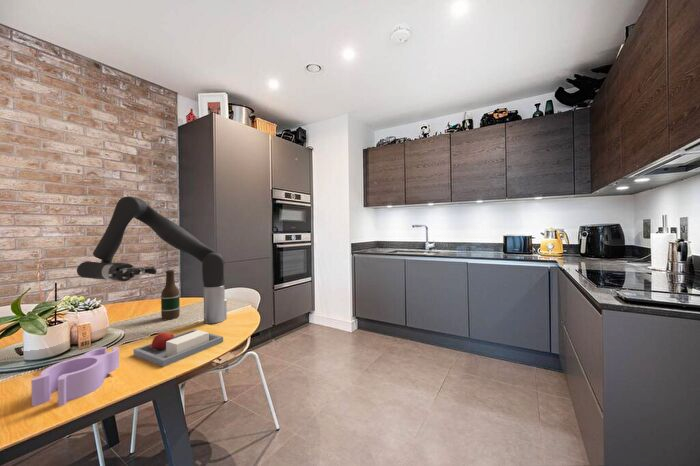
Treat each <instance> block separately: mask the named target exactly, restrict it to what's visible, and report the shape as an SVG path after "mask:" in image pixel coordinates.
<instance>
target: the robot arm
mask: <svg viewBox="0 0 700 466" xmlns="http://www.w3.org/2000/svg"><path fill="white" fill-rule="evenodd" d="M133 219H136V220H138V221H140V222H142V223H143V224H145V225H146V226H148V227H149V228H150V229H151V230H152V231H153V232H154V233H155V234H156V235H157V236H158V237H159V238H160V239H161V240H162V241H164V242H166V244H168V245H170V246H171V247H173V248H175V249H177V250H179V251H181V252H184V253H185V254H189V255H190V256H192V257H194V258H195V259H196V260H198V261H200V263H201V267H202V269H201V270H202V272H201V275H202V283H203V323H205V324H207V325H208V324H219V323H222V322H223V321H225V320H227V315H228V314H227V313H228V312H227V311H228V310H227V299H226V297H225V273H224V271H225V270H224V268H225V267H224V266H225V263H226V259H225V257H224V255H223V254H222V253H220V252H218V251H217V250H214V249H212V248H211V247H209V246H207V245H206V244H204V243H202V242H201V241H200V240H199V239H198V238H196V237H195V236H194V235H193V234H191V233H190V232H189V231H187V230H186V229H184V228H183V227H181V226H180V225H179V224H177V223H175V222H174V221H172V220H171V219H169V218H167V217H165V216H163V215H162V214H160V213H159V212H158V211H156V209H154V208H153V207H152V206H150V205H149V204H148V203H147V202H146V201H144V200H143V198H140V197H136V196H123V197H121V198H119V200H118V201H117V203H116V205H115V208H114V210H113V214H112V216H111V219H110V220H109V223H108V226H107V228H106V230H105V231H104V233H103V235H102V237H101V238H100V241H99V242H98V244H97V245H96V247H95V248H94V250H93V252H92V256H93V257H95V258H96V259H98V260H100V261H101V262H98V261H91V260H90V261H89V260H87V261H83V262H81V263H80V264H79V265H78V266H77V268H76V273H77V275H78V276H79V277H80V278H83V279H84V278H85V279H93V280H107V281H113V282H127V281H130V280H131V279H134V278H135V277H142V276H145V275H156V274H157V273H158V271H157V268H155V266H134V265H132V263H129V262H113V259H114V256H115V254H116V253H117V251H118V250H119V248H120V246H121V244H122V241H123V239H124V235H125V231H126V230H127V229H126V228H127V227H128V225H129V224H130V223H131V222H132V220H133Z"/></svg>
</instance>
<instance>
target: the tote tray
mask: <svg viewBox="0 0 700 466" xmlns="http://www.w3.org/2000/svg"><path fill="white" fill-rule="evenodd" d="M197 330H198V329H196V328H195V329H190V330H188V331H184V332H181V333H179V334H176V335H175V334H174V337H173V339H175V338H177V337H180V336H183V335H186V334H189V333H192V332H194V331H197ZM208 333H209V341H208V342H205V343H203V344H200V345H198V346H195V347H193V348H190V349H188V350H185V351H182V352H180V353H177V354H175V355H172V356H170V357H168V356H166V348H165V349H162V350H157V349H150V348H149V346H151V345H152V342H151V343H149V344H146V345H142V346H139V347H137V348H135V349H134V348H133V356H134V357H136V358H139V359H142V360H144V361H147V362H150V363H152V364H155V365H157V366H159V367H163V368H164V367H168V366H169V365H172V364H174V363H177V362H179V361H181V360H184V359H186V358H188V357H191V356H194V355H196V354H198V353H200V352H202V351H205V350H208V349H210V348H212V347H215V346H217V345H219V344H222V343H224V336H223V335H222V336H221V335H217V334H213V333H211V332H208Z"/></svg>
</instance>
